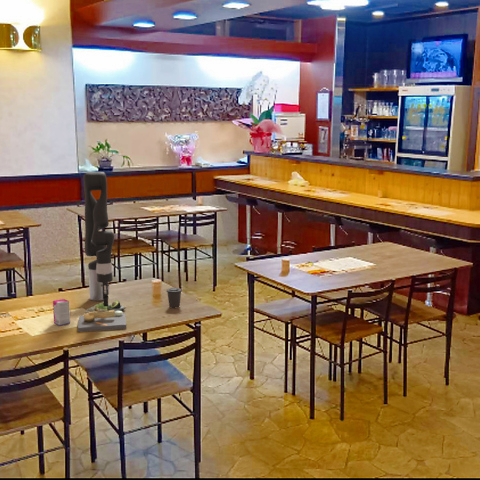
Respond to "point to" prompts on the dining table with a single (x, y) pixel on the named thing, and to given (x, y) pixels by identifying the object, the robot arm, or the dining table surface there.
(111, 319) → the base
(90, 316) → the tan elongated block
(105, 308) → the salad plate
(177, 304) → the coffee cup
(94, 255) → the robot arm
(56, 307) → the supplement box
